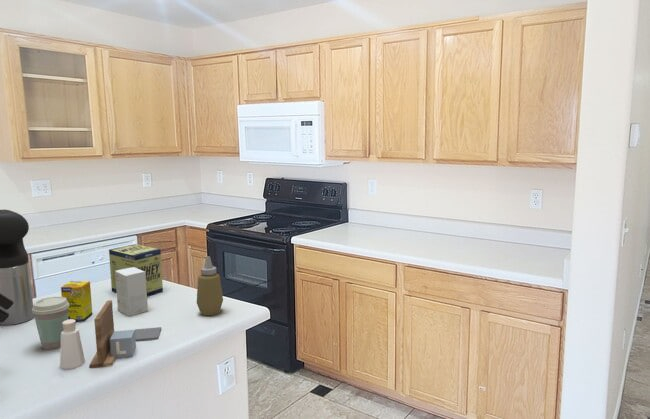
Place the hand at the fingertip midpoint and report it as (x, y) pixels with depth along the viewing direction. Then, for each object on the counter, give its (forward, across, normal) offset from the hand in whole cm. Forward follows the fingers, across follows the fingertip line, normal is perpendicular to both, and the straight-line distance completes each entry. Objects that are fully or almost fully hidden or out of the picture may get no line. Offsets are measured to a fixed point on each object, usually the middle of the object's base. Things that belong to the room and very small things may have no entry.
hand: (8, 312), depth 106 cm
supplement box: (+20, -32, -2) cm, 38 cm away
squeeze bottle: (+46, -18, +24) cm, 55 cm away
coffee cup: (+16, -14, -6) cm, 22 cm away
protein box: (+33, -50, +12) cm, 61 cm away
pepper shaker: (+19, 0, -3) cm, 19 cm away
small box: (+31, -31, +9) cm, 45 cm away
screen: (+24, -2, +3) cm, 25 cm away
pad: (+32, -9, +10) cm, 35 cm away
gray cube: (+27, -1, +6) cm, 28 cm away
